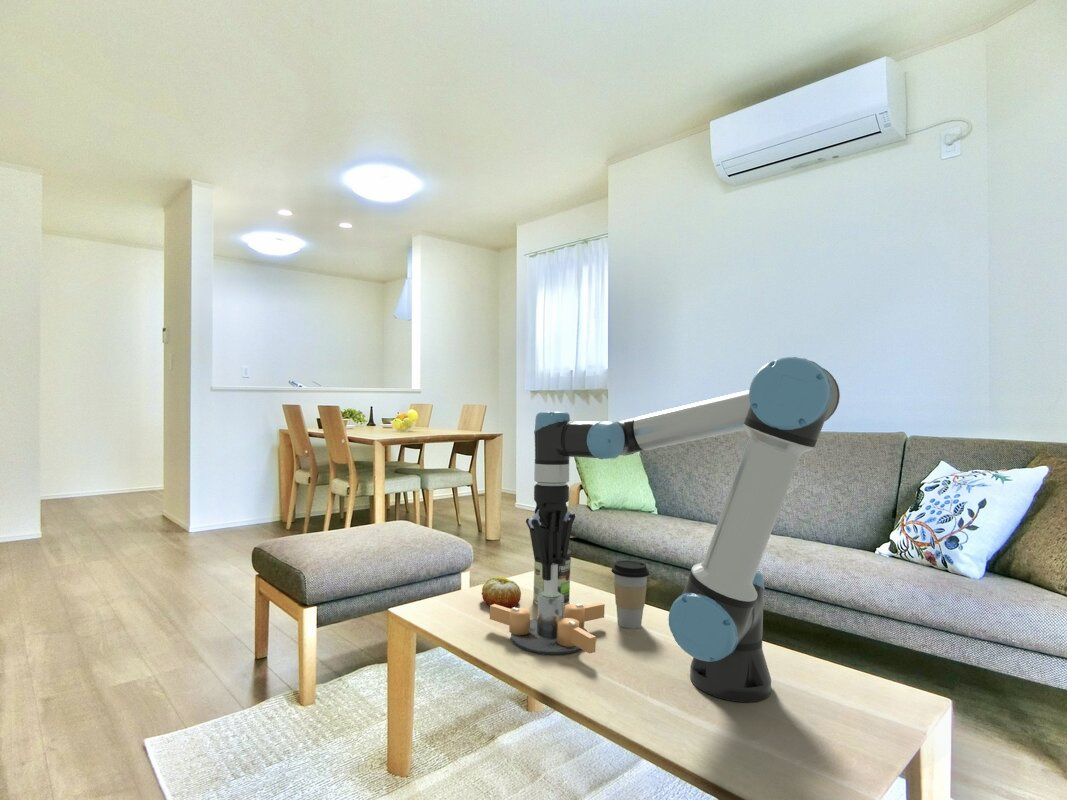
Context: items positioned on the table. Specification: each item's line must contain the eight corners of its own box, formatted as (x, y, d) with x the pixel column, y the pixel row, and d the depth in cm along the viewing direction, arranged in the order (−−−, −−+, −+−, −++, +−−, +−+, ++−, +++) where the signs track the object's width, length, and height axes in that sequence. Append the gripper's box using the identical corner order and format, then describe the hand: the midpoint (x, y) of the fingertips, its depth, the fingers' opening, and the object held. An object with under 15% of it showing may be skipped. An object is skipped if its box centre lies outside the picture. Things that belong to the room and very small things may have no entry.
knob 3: (552, 640, 126) (553, 618, 126) (570, 636, 128) (570, 614, 128) (583, 659, 116) (583, 635, 117) (601, 654, 119) (601, 631, 119)
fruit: (471, 603, 152) (477, 573, 155) (494, 605, 161) (499, 576, 163) (504, 611, 146) (510, 579, 148) (526, 613, 154) (531, 582, 157)
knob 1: (534, 630, 131) (534, 609, 131) (521, 636, 127) (521, 615, 127) (498, 618, 138) (498, 599, 138) (485, 624, 134) (485, 603, 134)
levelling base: (599, 634, 135) (601, 587, 135) (569, 662, 119) (571, 609, 119) (532, 619, 143) (534, 575, 143) (496, 644, 127) (497, 594, 127)
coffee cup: (656, 626, 140) (657, 566, 141) (628, 634, 135) (630, 571, 136) (629, 615, 148) (630, 557, 149) (602, 621, 143) (603, 562, 143)
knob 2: (572, 631, 131) (572, 610, 131) (560, 624, 135) (560, 604, 136) (608, 622, 137) (608, 602, 137) (595, 616, 141) (596, 597, 141)
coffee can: (576, 600, 159) (577, 550, 159) (557, 610, 150) (559, 557, 150) (545, 593, 164) (546, 544, 165) (525, 602, 156) (527, 551, 156)
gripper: (560, 480, 128) (559, 584, 128) (517, 484, 120) (516, 596, 119) (585, 483, 123) (584, 592, 122) (541, 487, 114) (540, 605, 113)
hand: (550, 594), depth 120 cm, fingers closed
